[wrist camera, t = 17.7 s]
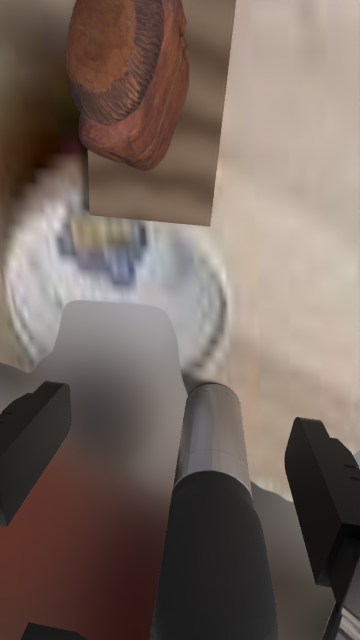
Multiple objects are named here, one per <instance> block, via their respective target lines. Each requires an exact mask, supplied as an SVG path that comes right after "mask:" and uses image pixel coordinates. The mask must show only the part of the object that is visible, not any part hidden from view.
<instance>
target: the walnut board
mask: <svg viewBox="0 0 360 640" xmlns="http://www.w3.org/2000/svg"><path fill="white" fill-rule="evenodd" d="M181 1H182V5H183V10H184V15H185V18H186V21H187V27H186V31H185V34H184V37H185V39H186V42H187V45H188V49H189V58H190V67H189V88H188V92H187V96H186V99H185V103H184V106H183V109H182V111H181V114H180V116H179V119H178V121H177V124H176V127H175V130H174V133H173V136H172V139H171V143H170V146H169V148H168V151H167V153H166V155H165V157H164V158H163V159H162V161H161V162H160V163H159V164H158V165H157V166H156V167H155V168H154V169H152V170H149V171H144V172H143V171H141V170H139V169H136V168H133V167H130V166H129V165H127V164H126V163H125V162H124V163H117V162H114V161H112V160H109V159H107V158H104V157H101V156H99V155H97V154H95V153H93V152H91V151H89V150H88V176H89V212H90V215H94V216H105V217H116V218H126V219H137V220H147V221H158V222H168V223H179V224H190V225H200V226H210V222H211V213H212V204H213V196H214V187H215V178H216V170H217V161H218V153H219V144H220V135H221V127H222V118H223V109H224V101H225V92H226V83H227V75H228V66H229V57H230V49H231V40H232V31H233V23H234V14H235V4H236V0H181Z"/></svg>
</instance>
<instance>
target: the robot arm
mask: <svg viewBox="0 0 360 640" xmlns="http://www.w3.org/2000/svg"><path fill="white" fill-rule="evenodd" d="M70 426H71V402H70V388H69V385H68V384H65V383H57V382H50V381H45V382H44V383H43V384H42V385H41V386H40V387H39V388H38V389H37V390H36V391H35V392H34V393H33V394H31V393H27V394H25V395H24V396H22V397H20V398H18V399H16V400H14V401H13V402H12V403H11V404H9V405H8V406H7V407H6V408H5V409H4V410H3V411H2V414H0V525H3V526H8V524H9V523H10V521H11V520H12V518H13V517H14V515H15V514H16V512H17V511H18V509H19V508H20V506H21V505H22V503H23V502H24V500H25V498H26V497H27V496H28V494H29V492H30V491H31V489H32V488H33V486H34V485H35V483H36V482H37V480H38V479H39V477H40V476H41V474H42V473H43V471H44V470H45V468H46V467H47V465H48V464H49V462H50V460H51V459H52V457H53V456H54V455H55V453H56V452H57V450H58V448H59V447H60V445H61V444H62V442H63V441H64V439H65V438H66V436H67V434H68V432H69V429H70ZM285 471H286V475H287V479H288V482H289V486H290V490H291V494H292V497H293V501H294V505H295V508H296V512H297V516H298V520H299V524H300V527H301V531H302V535H303V539H304V542H305V546H306V549H307V553H308V557H309V561H310V565H311V568H312V572H313V576H314V579H315V583H316V585H320V586H325V587H331V588H332V590H333V593H334V597H335V600H336V602H335V604H334V607H333V609H332V612H331V614H330V618H329V620H328V623H327V626H326V628H325V631H324V634H323V636H322V639H321V640H360V470H359V466H358V464H357V462H356V460H355V459H354V457H353V455H352V453H351V452H350V451H349V450H348V449H347V448H346V447H345V446H344V445H343V444H342V443H341V442H340V441H339V440H338V439H336V438H330V437H329V435H328V433H327V431H326V429H325V427H324V425H323V423H322V422H321V421H320V420H314V419H307V418H300V417H296V418H295V420H294V423H293V426H292V430H291V433H290V437H289V440H288V444H287V448H286V451H285ZM21 640H88V639H86V638H85V637H83V636H81V635H80V634H79V633H77V632H72V631H67V630H63V629H58V628H53V627H48V626H44V625H38V624H34V623H28V625H27V627H26V629H25V632H24V634H23V637H22V638H21ZM149 640H279V631H278V619H277V610H276V603H275V596H274V590H273V584H272V578H271V572H270V567H269V562H268V556H267V550H266V545H265V540H264V534H263V529H262V525H261V522H260V519H259V517H258V515H257V513H256V511H255V510H254V508H253V501H252V494H251V485H250V478H249V470H248V462H247V454H246V446H245V438H244V431H243V422H242V414H241V406H240V402H239V399H238V397H237V395H236V394H235V393H234V392H233V391H232V390H230V389H229V388H227V387H225V386H223V385H219V384H205V385H202V386H199V387H197V388H195V389H194V390H193V391H192V392H191V393H190V394H189V396H188V398H187V401H186V406H185V413H184V418H183V425H182V431H181V438H180V445H179V451H178V457H177V464H176V470H175V478H174V484H173V491H172V497H171V503H170V509H169V518H168V525H167V531H166V537H165V544H164V551H163V556H162V563H161V569H160V575H159V582H158V588H157V595H156V602H155V609H154V615H153V621H152V627H151V633H150V639H149Z"/></svg>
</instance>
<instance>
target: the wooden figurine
mask: <svg viewBox="0 0 360 640" xmlns="http://www.w3.org/2000/svg"><path fill="white" fill-rule="evenodd" d="M186 27H187V21H186V18H185V15H184V10H183V5H182V1H181V0H76V3H75V6H74V8H73V13H72V17H71V21H70V26H69V33H68V37H67V42H66V51H65V61H66V70H67V76H68V84H69V90H70V93H71V96H72V98H73V101H74V104H75V106H76V108H77V109H78V110H79V111H80V112H81V114H80V118H79V129H78V133H79V138H80V141H81V143H82V144H83V146H85V147H86V148H87V149H88V150H89V151H91V152H93V153H95V154H97V155H99V156H101V157H104V158H107V159H109V160H112V161H114V162H117V163H124V162H125V163H126V164H127V165H129V166H130V167H133V168H136V169H139V170H141V171H143V172H144V171H149V170H152V169H154V168H155V167H156V166H157V165H158V164H159V163H160V162H161V161H162V159H163V158H164V157H165V155H166V153H167V151H168V148H169V146H170V143H171V139H172V136H173V133H174V130H175V127H176V124H177V121H178V119H179V116H180V114H181V111H182V109H183V106H184V103H185V99H186V96H187V92H188V88H189V67H190V58H189V49H188V45H187V42H186V39H185V37H184V34H185V31H186Z"/></svg>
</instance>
